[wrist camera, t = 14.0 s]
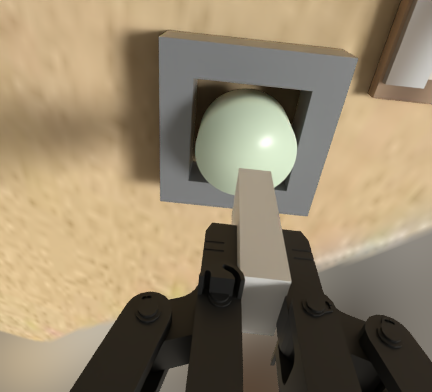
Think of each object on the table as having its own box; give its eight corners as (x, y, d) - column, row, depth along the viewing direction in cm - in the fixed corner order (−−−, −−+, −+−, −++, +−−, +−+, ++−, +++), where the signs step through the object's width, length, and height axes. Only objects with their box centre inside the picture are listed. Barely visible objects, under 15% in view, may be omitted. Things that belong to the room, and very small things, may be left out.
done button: (197, 168, 23) (192, 191, 20) (202, 83, 19) (198, 98, 17) (279, 177, 23) (284, 200, 20) (299, 93, 19) (308, 109, 17)
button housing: (167, 180, 26) (160, 200, 23) (168, 30, 20) (158, 36, 17) (300, 194, 26) (307, 216, 23) (342, 49, 20) (358, 58, 17)
